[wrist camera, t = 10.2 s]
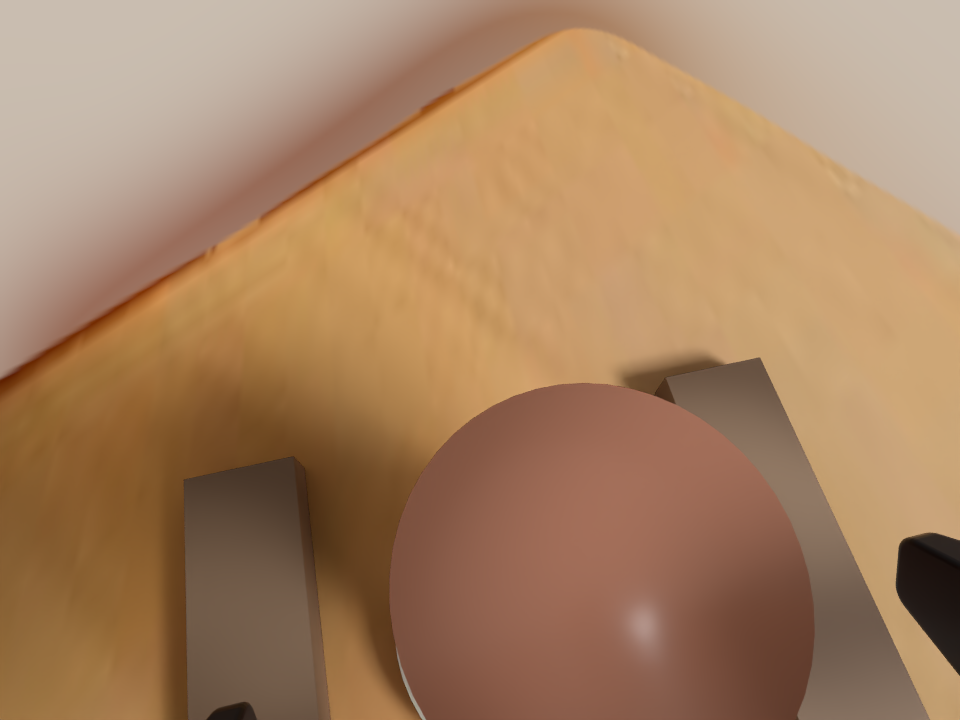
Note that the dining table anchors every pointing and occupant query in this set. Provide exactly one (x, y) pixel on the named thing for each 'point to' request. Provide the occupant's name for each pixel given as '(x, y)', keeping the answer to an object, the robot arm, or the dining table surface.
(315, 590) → the notched board
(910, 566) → the robot arm
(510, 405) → the knob
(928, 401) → the dining table surface
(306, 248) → the dining table surface
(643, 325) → the dining table surface
